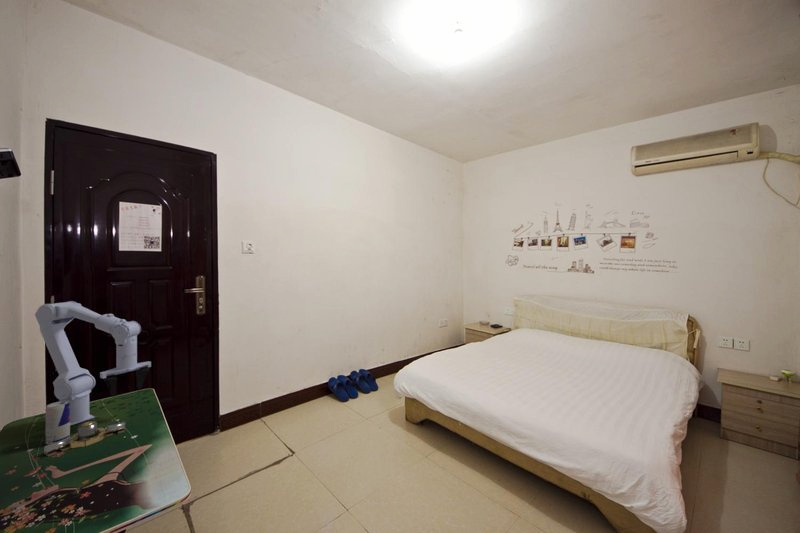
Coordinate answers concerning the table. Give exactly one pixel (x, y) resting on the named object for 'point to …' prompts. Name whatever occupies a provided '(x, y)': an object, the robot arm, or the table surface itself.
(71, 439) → the collar
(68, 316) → the robot arm
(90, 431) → the hub
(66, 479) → the table surface
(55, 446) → the shaft
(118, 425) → the shaft
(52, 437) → the energy drink
